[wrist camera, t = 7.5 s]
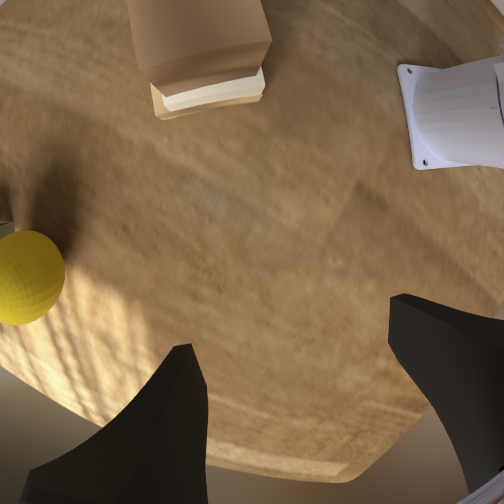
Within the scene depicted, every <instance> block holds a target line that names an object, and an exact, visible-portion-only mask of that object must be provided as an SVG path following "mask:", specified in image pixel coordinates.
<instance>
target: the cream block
mask: <svg viewBox="0 0 504 504" xmlns="http://www.w3.org/2000/svg"><path fill="white" fill-rule="evenodd" d="M264 88H265V81H264V77H263V72H262V67H261V66H260V68H259V71H258V73H257V75H256V76H252V77H247V78H241V79H236V80H232V81H227V82H222V83H218V84H214V85H209V86H205V87H201V88H197V89H194V90H190V91H186V92H183V93H179V94H176V95H172V96H169V97H165V96H164V95H163V94H162V97H163V103H164V106H165V107H166V108H167V109H168V110H169V111H170V112H172V111H176V110H180V109H184V108H188V107H193V106H197V105H202V104H206V103H211V102H216V101H222V100H227V99H233V98H239V97H245V96H251V95H258V94H261V92H262V91H263V89H264Z"/></svg>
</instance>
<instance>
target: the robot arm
mask: <svg viewBox="0 0 504 504" xmlns="http://www.w3.org/2000/svg"><path fill="white" fill-rule="evenodd" d="M500 49H501V51H502V53H503V55H500V56H495V57H491V58H486V59H482V60H477V61H473V62H469V63H465V64H461V65H458V66H454V67H450V68H447V69H438V68H432V67H425V66H417V65H408V64H400V65H398V66H397V73H398V77H399V81H400V86H401V91H402V95H403V100H404V106H405V111H406V117H407V123H408V129H409V136H410V143H411V151H412V160H413V166H414V167H415V168H416V169H418V170H424V169H434V168H445V167H457V166H470V165H483V166H490V167H497V168H504V34H503V37H502V42H501V43H500ZM407 69H409V71H410V73H409V72H408V71H407ZM423 160H425V165H423ZM388 343H389V345H390V347H391V349H392V351H393V353H394V354H395V356H396V358H397V359H398V361H399V363H400V364H401V365H402V367H403V368H404V369H405V371H406V372H407V373H408V375H409V376H410V377H411V378H412V380H413V381H414V382H415V383H416V385H417V386H418V387H419V389H420V390H421V391H422V393H423V394H424V395H425V396H426V398H427V399H428V400H429V402H430V403H431V405H432V406H433V408H434V409H435V411H436V413H437V415H438V416H439V418H440V420H441V422H442V423H443V426H444V427H445V430H446V432H447V434H448V436H449V438H450V440H451V442H452V444H453V447H454V449H455V451H456V454H457V456H458V459H459V461H460V464H461V467H462V470H463V473H464V477H465V480H466V483H467V487H468V491H469V494H470V495H469V496H468V497H466V498H464V499H463V500H461V501H460V502H458V503H456V504H490V503H492V502H493V501H494V500H496V499H497V498H498V497H500V496H501V495H502V494H503V493H504V320H499V319H494V318H488V317H483V316H479V315H475V314H471V313H467V312H464V311H460V310H457V309H454V308H451V307H447V306H444V305H441V304H438V303H435V302H432V301H429V300H426V299H423V298H420V297H417V296H413V295H410V294H405V293H403V294H400V295H397V296H393V297H390V317H389V333H388ZM207 427H208V396H207V385H206V383H205V380H204V378H203V375H202V372H201V369H200V367H199V364H198V361H197V358H196V356H195V353H194V350H193V347H192V344H191V343H190V344H184V345H178V346H174V347H173V348H172V350H171V351H170V352H169V354H168V355H167V356H166V358H165V359H164V361H163V362H162V363H161V365H160V366H159V367H158V369H157V370H156V371H155V373H154V374H153V375H152V377H151V378H150V379H149V381H148V382H147V383H146V384H145V385H144V387H143V388H142V389H141V390H140V391H139V393H138V394H137V395H136V396H135V397H134V398H133V400H132V401H131V402H130V403H129V404H128V405H127V406H126V407H125V408H124V409H123V410H122V411H121V412H120V413H119V414H118V415H117V416H116V417H115V418H114V419H113V420H112V421H110V422H109V423H108V424H107V425H106V426H104V427H103V428H102V429H101V430H99V431H98V432H97V433H96V434H94V435H93V436H92V437H90V438H89V439H88V440H86V441H85V442H84V443H82V444H80V445H79V446H77V447H76V448H74V449H73V450H71V451H69V452H67V453H66V454H64V455H63V456H61V457H59V458H57V459H55V460H53V461H50V462H48V463H46V464H44V465H42V466H39V467H37V468H35V469H32V470H30V472H29V474H28V477H27V479H26V482H25V485H24V487H23V490H22V493H21V495H20V498H19V501H18V504H208V497H207V486H206V475H205V460H206V443H207ZM498 504H504V499H503V500H501V501H500V502H499V503H498Z"/></svg>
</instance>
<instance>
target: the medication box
mask: <svg viewBox="0 0 504 504" xmlns="http://www.w3.org/2000/svg"><path fill="white" fill-rule="evenodd" d="M12 233H14V226H13V222H9V221H1V220H0V239H2V238H3V237H5V236H7V235H9V234H12Z"/></svg>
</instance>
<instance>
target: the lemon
mask: <svg viewBox="0 0 504 504" xmlns="http://www.w3.org/2000/svg"><path fill="white" fill-rule="evenodd" d="M64 280H65V267H64V262H63V258H62V256H61V253H60V251H59V250H58V248H57V246H56V245H55V244H54V243H53V242H52V240H51V239H49V238H48V237H46V236H45V235H44V234H41V233H39V232H36V231H24V230H23V231H17V232H14V233H12V234H9V235H7V236H5V237H3V238H2V239H0V321H1V322H4V323H6V324H9V325H24V324H27V323H30V322H32V321H35V320H37V319H38V318H40V317H41V316H43V315H44V314H45V313H46V312H47V311H48V310H50V309H51V308H52V306H53V305H54V304H55V302H56V301H57V299H58V297H59V295H60V294H61V291H62V288H63V284H64Z"/></svg>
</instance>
